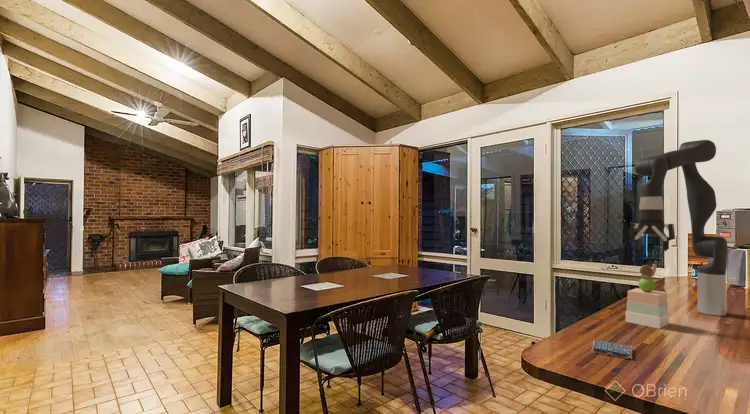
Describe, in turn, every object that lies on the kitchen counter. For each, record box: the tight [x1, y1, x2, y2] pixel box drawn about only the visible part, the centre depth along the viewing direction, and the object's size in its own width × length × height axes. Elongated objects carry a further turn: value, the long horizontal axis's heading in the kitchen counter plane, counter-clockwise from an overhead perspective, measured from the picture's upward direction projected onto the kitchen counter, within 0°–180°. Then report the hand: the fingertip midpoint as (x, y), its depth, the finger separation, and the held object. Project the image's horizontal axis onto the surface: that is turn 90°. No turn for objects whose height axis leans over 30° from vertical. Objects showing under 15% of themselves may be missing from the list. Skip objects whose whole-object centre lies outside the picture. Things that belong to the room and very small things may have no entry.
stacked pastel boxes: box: [625, 287, 670, 329], centre depth 147 cm, size 11×11×12 cm
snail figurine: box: [638, 260, 658, 292], centre depth 147 cm, size 5×6×12 cm
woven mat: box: [590, 338, 633, 360], centre depth 114 cm, size 10×11×2 cm
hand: (651, 250), depth 147 cm, fingers open, 8 cm apart
